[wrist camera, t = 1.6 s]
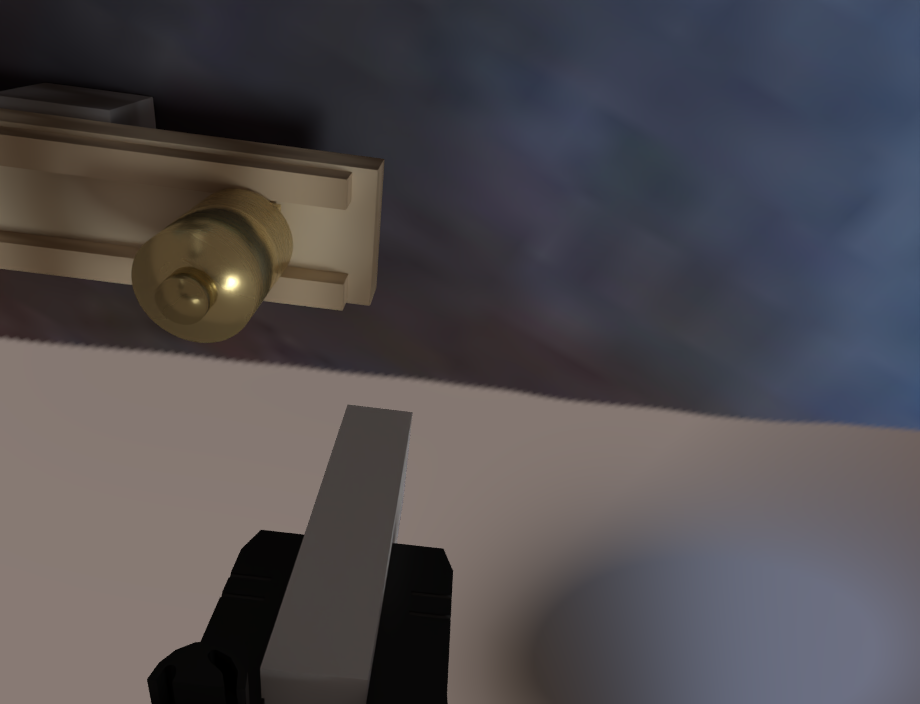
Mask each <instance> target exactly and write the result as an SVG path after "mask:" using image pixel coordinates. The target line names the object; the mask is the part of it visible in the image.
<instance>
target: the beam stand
mask: <svg viewBox="0 0 920 704" xmlns="http://www.w3.org/2000/svg"><path fill="white" fill-rule="evenodd" d="M383 172H384V159H380V158H372V157H365V156H357V155H350V154H342V153H335V152H327V151H319V150H312V149H304V148H297V147H289V146H282V145H274V144H267V143H259V142H251V141H244V140H236V139H229V138H221V137H214V136H206V135H199V134H191V133H183V132H176V131H168V130H161V129H156V122H155V113H154V104H153V97H149V96H142V95H134V94H127V93H119V92H112V91H104V90H97V89H89V88H82V87H75V86H67V85H60V84H52V83H40V84H35V85H30V86H25V87H20V88H14V89H9V90H4V91H0V269H8V270H17V271H25V272H33V273H41V274H49V275H57V276H65V277H74V278H82V279H90V280H98V281H106V282H114V283H122V284H130V285H132V278H131V271H132V264H133V260H134V258H135V256H136V254H137V252H138V250H139V249H140V248H141V247H142V246H143V244H144V243H146V242H147V241H148V240H149V239H151V238H152V237H153V236H155V235H156V234H157V233H159V232H160V231H162V230H163V229H164V228H166V227H167V226H168V225H170V224H171V223H172V222H174V221H175V220H176V219H178V218H179V217H181V216H182V215H183V214H185V213H186V212H187V211H189V210H190V209H191V208H193V207H194V206H195V205H197V204H198V203H200V202H201V201H202V200H204V199H205V198H206V197H208V196H209V195H211V194H213V193H214V192H217V191H220V190H224V189H233V188H234V189H244V190H248V191H251V192H254V193H256V194H259V195H261V196H262V197H264V198H266V199H267V200H269V201H270V202H271V203H274V204H281V213H282V214H283V216H284V217H285V219H286V221H287V223H288V225H289V227H290V230H291V233H292V238H293V252H292V257H291V260H290V262H289V264H288V266H287V268H286V269H285V270H284V272H283V273H282V275H281V276H280V278H279V279H278V280H277V282H276V283H275V285H274V286H273V287H272V289H271V290H270V292H269V293H268V294H267V296H266V297H265V299H264V300H263V301H269V302H277V303H285V304H293V305H301V306H309V307H318V308H326V309H334V310H343V308H344V306H345V303H353V304H361V305H369V306H370V304H371V301H372V298H373V295H374V292H375V289H376V282H377V266H378V251H379V235H380V219H381V203H382V188H383Z"/></svg>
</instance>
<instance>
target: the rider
mask: <svg viewBox="0 0 920 704" xmlns="http://www.w3.org/2000/svg"><path fill="white" fill-rule="evenodd" d="M292 252H293V238H292V233H291V230H290V227H289V225H288V223H287V221H286V219H285V217H284V216H283V214H282V213H281V204H274V203H271V202H270V201H269V200H267V199H266V198H264V197H262V196H261V195H259V194H256V193H254V192H251V191H248V190H244V189H234V188H233V189H224V190H220V191H217V192H214V193H213V194H211V195H209V196H208V197H206V198H205V199H204V200H202V201H201V202H200V203H198V204H197V205H195V206H194V207H193V208H191V209H190V210H189V211H187V212H186V213H185V214H183V215H182V216H181V217H179V218H178V219H176V220H175V221H174V222H172V223H171V224H170V225H168V226H167V227H166V228H164V229H163V230H162V231H160V232H159V233H157V234H156V235H155V236H153V237H152V238H151V239H149V240H148V241H147V242H146V243H144V244H143V246H142V247H141V248H140V249H139V250H138V252H137V254H136V256H135V258H134V260H133V264H132V271H131V278H132V285H133V290H134V293H135V295H136V298H137V300H138V302H139V304H140V305H141V307H142V308H143V310H144V311H145V312H146V314H147V315H148V316H149V317H150V318H151V319H152V320H153V321H154V322H155V323H156V324H158V325H159V326H160V327H161V328H163V329H164V330H166V331H167V332H169V333H171V334H173V335H175V336H177V337H180V338H182V339H185V340H189V341H194V342H201V343H211V342H218V341H222V340H225V339H228V338H230V337H232V336H234V335H235V334H237V333H238V332H239V331H241V330H242V329H243V328H244V326H245V325H246V324H247V323H248V321H249V320H250V318H251V317H252V316H253V314H254V313H255V311H256V310H257V308H258V307H259V306H260V304H261V303H262V301H263V300H264V299H265V297H266V296H267V294H268V293H269V292H270V290H271V289H272V287H273V286H274V285H275V283H276V282H277V280H278V279H279V278H280V276H281V275H282V273H283V272H284V270H285V269H286V268H287V266H288V264H289V262H290V260H291V257H292Z"/></svg>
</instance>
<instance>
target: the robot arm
mask: <svg viewBox="0 0 920 704" xmlns="http://www.w3.org/2000/svg"><path fill="white" fill-rule="evenodd" d="M411 421H412V412H405V411H397V410H388V409H380V408H371V407H363V406H355V405H347V409H346V411H345V415H344V417H343V421H342V424H341V426H340V429H339V432H338V435H337V438H336V441H335V445H334V447H333V450H332V453H331V457H330V459H329V463H328V465H327V469H326V471H325V475H324V478H323V481H322V484H321V487H320V490H319V493H318V496H317V499H316V502H315V505H314V508H313V511H312V514H311V517H310V520H309V523H308V526H307V529H306V532H305V535H301V534H293V533H284V532H275V531H266V530H261V531H259V532H258V533H257V534H256V535H255V536H254V537H253V538H252V539H251V540H250V541H249V542H248V543H247V544H246V545H245V546H244V547H243V548H242V549H241V551H240V553H239V555H238V558H237V560H236V562H235V564H234V567H233V569H232V572H231V576H230V578H228V580H227V583H226V585H225V587H224V590H223V592H222V597H220V599H219V601H218V603H217V606H216V608H215V610H214V612H213V615H212V617H211V619H210V621H209V624H208V626H207V628H206V631H205V633H204V635H203V637H202V640H201V642H195V643H193V644H190V645H187V646H185V647H182V648H180V649H177V650H175V651H174V652H172V653H171V654H170V655H169V656H167V657H166V658H165V659H163V660H162V661H161V662H159V664H158V665H157V666H156V668H155V669H154V671H153V672H152V673H151V675H150V676H149V677H148V679H147V682H148V687H149V692H150V698H151V703H152V704H448V703H447V683H448V662H449V641H450V617H451V597H452V580H453V570H452V568H451V565H450V563H449V561H448V558H447V556H446V554H445V551H444V549H441V548H432V547H423V546H414V545H405V544H397V537H398V530H399V524H400V518H401V511H402V504H403V497H404V487H405V479H406V469H407V459H408V450H409V440H410V431H411Z"/></svg>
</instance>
